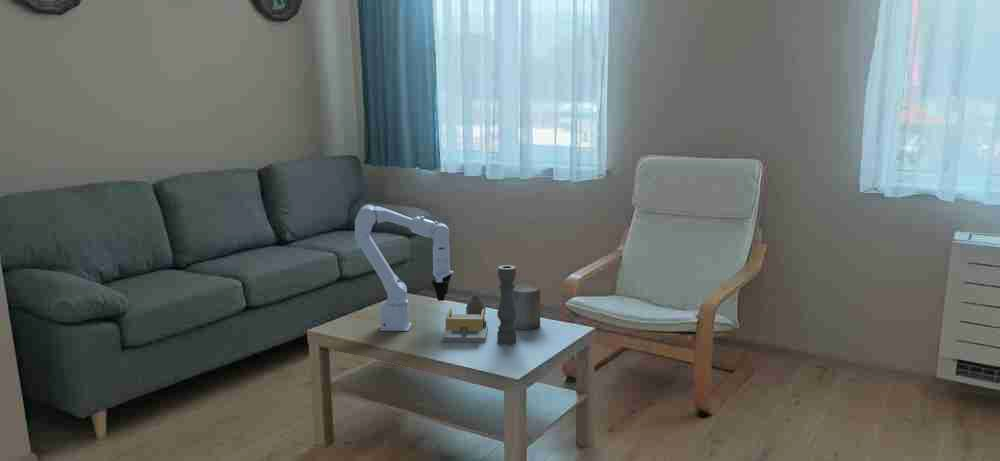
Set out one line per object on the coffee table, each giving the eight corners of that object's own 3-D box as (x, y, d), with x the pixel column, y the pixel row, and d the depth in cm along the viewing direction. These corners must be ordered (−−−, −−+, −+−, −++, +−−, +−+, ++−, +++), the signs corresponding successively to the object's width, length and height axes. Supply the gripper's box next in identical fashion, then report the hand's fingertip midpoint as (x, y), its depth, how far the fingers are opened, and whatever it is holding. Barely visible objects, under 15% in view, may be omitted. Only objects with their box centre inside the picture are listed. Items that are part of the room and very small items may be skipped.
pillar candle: (539, 321, 269) (538, 280, 266) (541, 329, 259) (541, 287, 256) (511, 321, 268) (511, 280, 266) (512, 330, 259) (512, 288, 256)
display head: (485, 342, 247) (485, 324, 246) (442, 341, 248) (442, 324, 246) (487, 329, 260) (487, 312, 259) (447, 329, 260) (446, 312, 259)
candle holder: (502, 346, 243) (502, 270, 239) (494, 340, 249) (493, 266, 244) (519, 343, 246) (520, 268, 241) (510, 337, 252) (510, 264, 247)
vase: (486, 317, 274) (486, 293, 272) (484, 323, 267) (484, 299, 265) (467, 316, 274) (467, 293, 273) (464, 322, 268) (464, 298, 266)
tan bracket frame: (482, 331, 247) (482, 319, 246) (445, 330, 248) (445, 318, 247) (484, 320, 258) (484, 309, 258) (449, 319, 259) (449, 308, 258)
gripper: (450, 264, 251) (451, 303, 254) (455, 254, 266) (456, 291, 268) (429, 263, 252) (430, 303, 254) (435, 254, 266) (436, 291, 269)
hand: (442, 297), depth 261 cm, fingers open, 7 cm apart
